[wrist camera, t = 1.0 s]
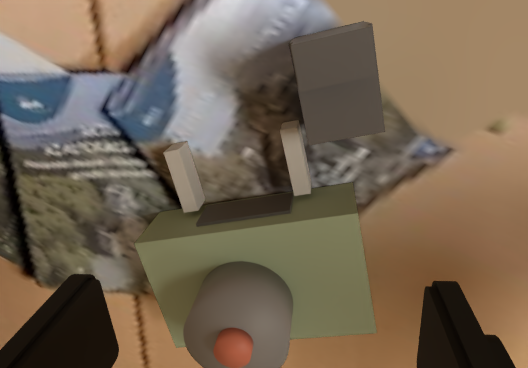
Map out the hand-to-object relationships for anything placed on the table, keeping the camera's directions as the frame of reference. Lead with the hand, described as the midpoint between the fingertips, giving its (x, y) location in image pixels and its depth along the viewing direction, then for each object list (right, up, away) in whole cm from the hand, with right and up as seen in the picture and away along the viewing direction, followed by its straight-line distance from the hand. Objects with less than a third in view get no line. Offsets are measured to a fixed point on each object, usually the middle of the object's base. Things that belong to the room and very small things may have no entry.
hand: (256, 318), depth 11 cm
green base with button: (0, +1, +21) cm, 21 cm away
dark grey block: (+5, +11, +16) cm, 20 cm away
